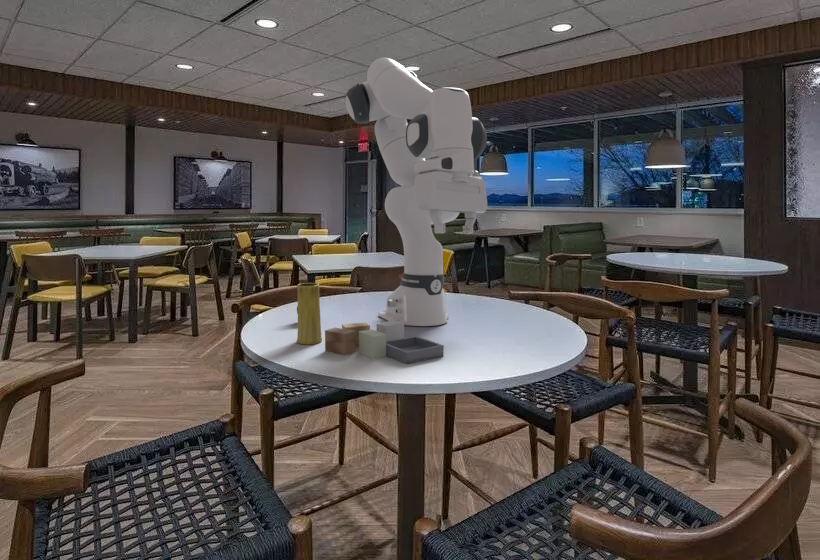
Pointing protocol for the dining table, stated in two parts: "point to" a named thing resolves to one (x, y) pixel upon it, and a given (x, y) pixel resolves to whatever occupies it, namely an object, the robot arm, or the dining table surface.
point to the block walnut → (340, 341)
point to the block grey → (391, 329)
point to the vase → (308, 314)
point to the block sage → (372, 343)
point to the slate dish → (413, 349)
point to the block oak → (356, 329)
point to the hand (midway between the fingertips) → (454, 233)
